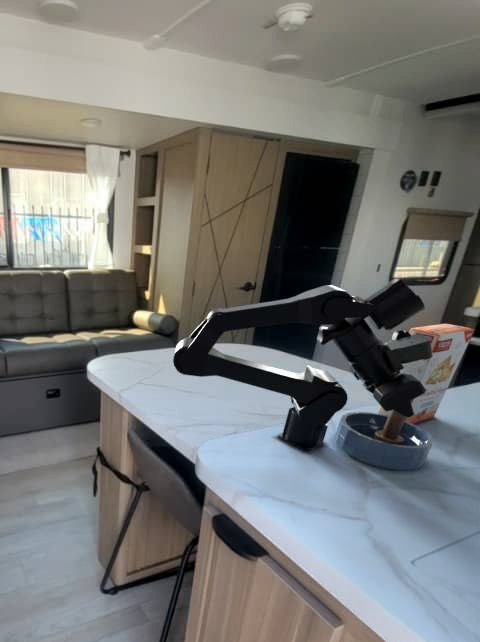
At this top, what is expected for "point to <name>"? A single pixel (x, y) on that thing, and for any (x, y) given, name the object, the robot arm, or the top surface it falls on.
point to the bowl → (361, 445)
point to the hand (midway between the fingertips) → (407, 412)
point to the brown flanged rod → (392, 429)
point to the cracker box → (435, 367)
